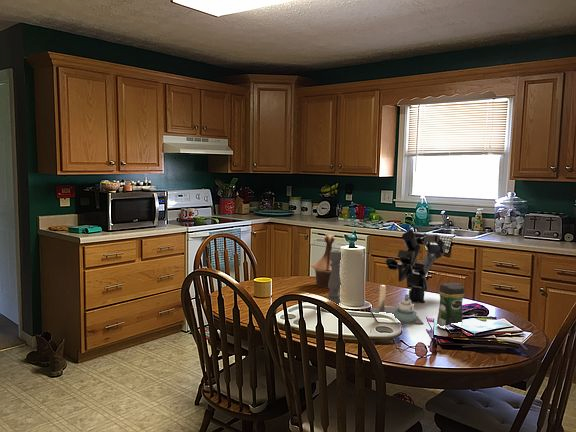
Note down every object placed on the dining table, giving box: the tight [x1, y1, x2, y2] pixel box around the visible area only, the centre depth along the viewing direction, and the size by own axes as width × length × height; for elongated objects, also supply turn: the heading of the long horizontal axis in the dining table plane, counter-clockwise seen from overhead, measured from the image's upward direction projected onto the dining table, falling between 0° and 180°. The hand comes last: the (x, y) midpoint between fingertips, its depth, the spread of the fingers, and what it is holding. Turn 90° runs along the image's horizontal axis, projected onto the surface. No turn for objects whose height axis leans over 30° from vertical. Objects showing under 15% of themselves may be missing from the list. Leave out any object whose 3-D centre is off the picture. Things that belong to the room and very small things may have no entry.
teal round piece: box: [394, 310, 417, 322], centre depth 208 cm, size 9×9×4 cm
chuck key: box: [377, 284, 415, 314], centre depth 209 cm, size 14×6×11 cm, turn 76°
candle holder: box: [326, 249, 342, 305], centre depth 227 cm, size 6×6×25 cm
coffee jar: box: [436, 282, 465, 326], centre depth 200 cm, size 10×8×19 cm
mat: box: [369, 307, 424, 325], centre depth 214 cm, size 19×19×1 cm
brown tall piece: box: [310, 233, 336, 289], centre depth 261 cm, size 18×17×28 cm
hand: (399, 281), depth 223 cm, fingers closed
